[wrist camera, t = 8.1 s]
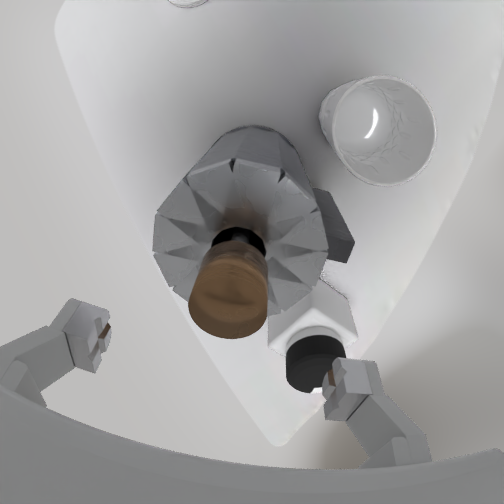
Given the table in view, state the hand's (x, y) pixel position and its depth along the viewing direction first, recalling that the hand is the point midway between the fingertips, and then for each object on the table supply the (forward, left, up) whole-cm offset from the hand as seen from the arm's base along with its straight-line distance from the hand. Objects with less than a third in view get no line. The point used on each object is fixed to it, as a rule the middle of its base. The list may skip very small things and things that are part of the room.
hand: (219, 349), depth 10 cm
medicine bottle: (+14, +10, -23) cm, 29 cm away
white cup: (-8, +8, -23) cm, 26 cm away
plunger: (0, 0, -21) cm, 21 cm away
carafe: (0, +1, -23) cm, 23 cm away
